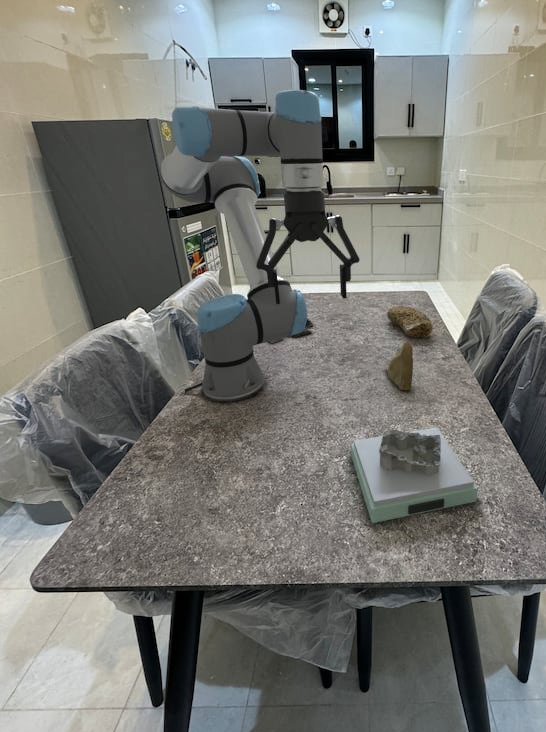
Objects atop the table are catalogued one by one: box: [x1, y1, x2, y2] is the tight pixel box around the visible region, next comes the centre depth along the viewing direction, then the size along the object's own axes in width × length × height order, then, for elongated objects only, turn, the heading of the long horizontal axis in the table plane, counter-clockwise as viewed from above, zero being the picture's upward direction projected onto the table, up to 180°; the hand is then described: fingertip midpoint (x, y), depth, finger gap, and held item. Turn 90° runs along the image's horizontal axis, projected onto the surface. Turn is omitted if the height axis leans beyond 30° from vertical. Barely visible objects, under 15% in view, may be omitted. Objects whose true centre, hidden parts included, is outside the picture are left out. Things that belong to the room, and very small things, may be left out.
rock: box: [386, 341, 414, 391], centre depth 99 cm, size 11×9×10 cm
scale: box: [350, 426, 479, 524], centre depth 68 cm, size 18×16×4 cm
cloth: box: [268, 317, 314, 345], centre depth 132 cm, size 22×19×6 cm
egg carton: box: [379, 429, 441, 476], centre depth 67 cm, size 11×8×4 cm
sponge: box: [386, 305, 434, 339], centre depth 132 cm, size 13×8×20 cm
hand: (311, 299), depth 79 cm, fingers open, 13 cm apart
